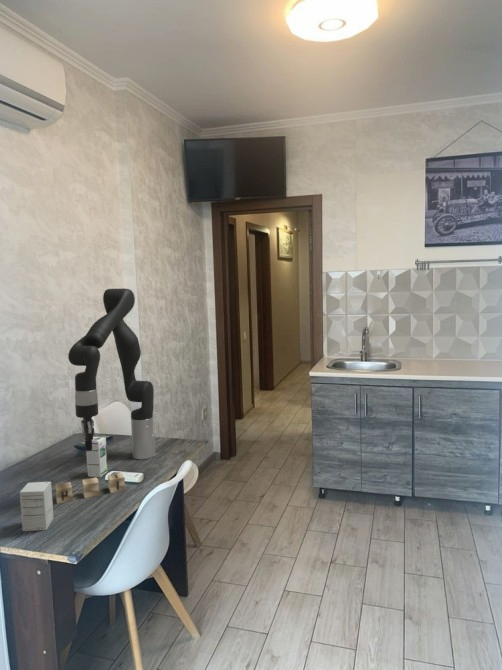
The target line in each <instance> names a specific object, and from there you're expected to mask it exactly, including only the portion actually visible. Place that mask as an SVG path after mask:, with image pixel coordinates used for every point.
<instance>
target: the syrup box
mask: <svg viewBox="0 0 502 670" xmlns="http://www.w3.org/2000/svg"><path fill="white" fill-rule="evenodd" d="M107 451H108V450H107V437H106V436H93V440H92V450H91V451H86V450H85V452H86V454H85V455H86V465H87V467H86V468H87V477H90V478H95V477H97V478H102V477H103V476H104V475H105V474H107V473H108V472H109V469H108V468H109V467H108V452H107Z"/></svg>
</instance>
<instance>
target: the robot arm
mask: <svg viewBox="0 0 502 670" xmlns="http://www.w3.org/2000/svg"><path fill="white" fill-rule="evenodd" d="M135 297H136V296H135V294H134V292H133V291H132V290H131V289H130V288H125V287H124V288H122V287H121V288H108V289H106V290H104V291H103V297H102V299H103V300H102V302H103V306H104V309H105V312H106V314H105V315H103V316H101V317H100V318H98V319H97V320H96V321H94V323H93V324H92V325H91V327H90V328H89V330H88V331H87V333H86V334H85V335H84V336H82V337H81V338H80V339H79V340H77V341H76V342H75V343H74V344H73V345H72V346H71V348H70V349H69V351H68V355H67V356H68V357H67V358H68V362H69V363H70V364H71V365H73V366H75V367H77V366H78V367H81V366H83V367H85V370H84V371H82V372H78V373H76V374H75V376H74V389H75V390H74V391H75V393H74V405H75V406H74V407H75V417H77V418H80V419H82V420H80V424H81V429H82V430H81V431H82V435H83V440H84V449H85V452H86V451H91V450H92V440H93V437H94V434H95V433H94V432H95V429H94V427H95V420H93V417H96V416H97V415H98V414H99V397H98V396H99V395H98V390H97V374H98V369H99V366H100V362H101V353H100V350H99V349H101V348H102V347H104V344H105V343H106V341H107V340H108V338H109V336H110V335H111V334H113V337H114V342H115V347H116V352H117V354H118V359H119V362H120V367H121V371H122V378H123V385H124V393H125V396H126V398H127V400H128V402H132V403H141V405H140V406H141V407H138V408H136V409H133V410H132V411H131V412H130V421H131V422H130V425H131V427H130V428H131V448H132V450H131V451H132V458H133V459H136V460H148V459H151V458H153V457H156V436H155V434H154V399H155V398H154V397H155V396H154V392H155V391H154V385H153V383H152V382H151V381H149V380H137V378H136V376H135V375H136V374H135V372H136V367H137V364H138V363H139V361H140V358H141V355H142V351H141V346H140V341H139V339H138V336H137V335H136V333H135V332H134V331H133V330H132V329H131V327H130V326H129V325H128V324H127V323H126V322H125V320H124V318H126V317H127V315H128V314H129V313H130V312H131V311H132V310H133V308H134V307H135V302H136V301H135V300H136V298H135Z"/></svg>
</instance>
